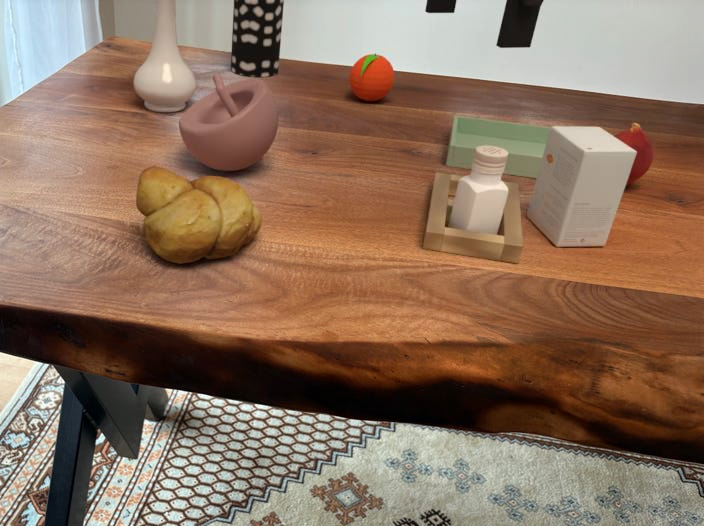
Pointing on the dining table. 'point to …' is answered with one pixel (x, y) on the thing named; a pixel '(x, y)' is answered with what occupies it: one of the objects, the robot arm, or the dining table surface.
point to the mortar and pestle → (231, 125)
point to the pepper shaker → (481, 193)
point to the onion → (641, 145)
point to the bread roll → (195, 215)
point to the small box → (580, 185)
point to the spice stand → (469, 241)
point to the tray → (498, 143)
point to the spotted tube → (256, 37)
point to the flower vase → (164, 66)
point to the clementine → (371, 77)
